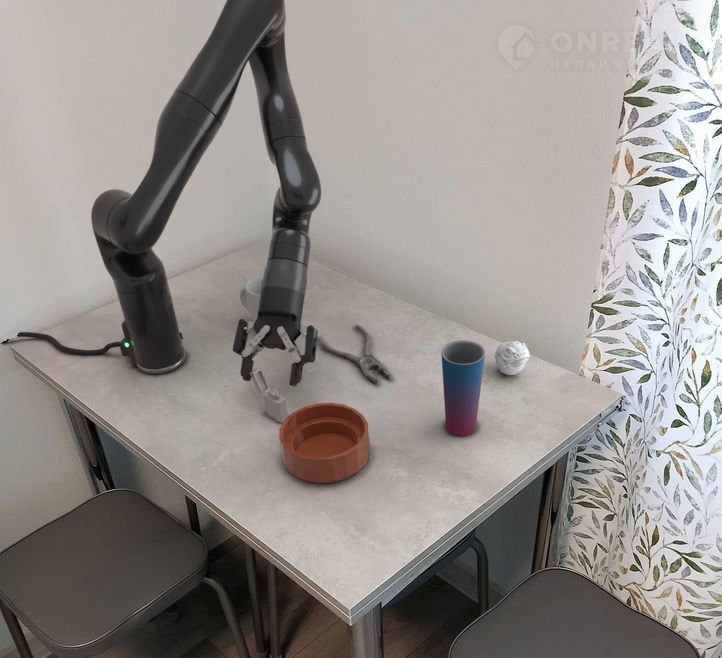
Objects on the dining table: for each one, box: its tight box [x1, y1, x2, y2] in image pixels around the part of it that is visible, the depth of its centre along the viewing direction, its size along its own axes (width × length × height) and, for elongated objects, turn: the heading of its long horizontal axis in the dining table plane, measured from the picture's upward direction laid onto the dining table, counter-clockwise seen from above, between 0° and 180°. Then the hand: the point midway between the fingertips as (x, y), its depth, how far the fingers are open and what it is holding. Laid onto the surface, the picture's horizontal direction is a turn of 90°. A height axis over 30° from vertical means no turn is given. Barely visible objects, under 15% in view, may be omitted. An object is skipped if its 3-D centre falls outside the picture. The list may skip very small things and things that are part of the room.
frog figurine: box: [494, 340, 531, 376], centre depth 145 cm, size 6×7×7 cm
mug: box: [239, 273, 264, 322], centre depth 161 cm, size 13×9×10 cm
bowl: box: [278, 402, 371, 484], centre depth 131 cm, size 14×14×6 cm
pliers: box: [317, 323, 391, 385], centre depth 154 cm, size 10×1×20 cm
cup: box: [440, 339, 486, 437], centre depth 132 cm, size 7×7×15 cm
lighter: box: [250, 368, 289, 424], centre depth 140 cm, size 7×2×8 cm, turn 44°
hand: (269, 383), depth 139 cm, fingers open, 8 cm apart
